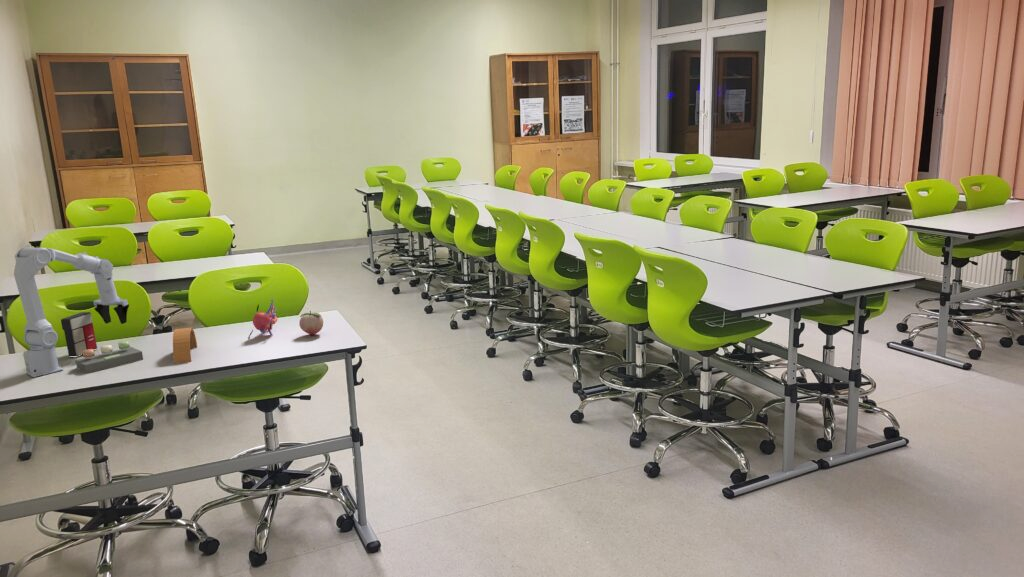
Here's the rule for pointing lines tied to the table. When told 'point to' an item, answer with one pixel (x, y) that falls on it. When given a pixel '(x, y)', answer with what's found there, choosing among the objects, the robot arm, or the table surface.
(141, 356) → the button panel
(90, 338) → the grey and red box
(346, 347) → the table surface
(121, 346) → the sage button
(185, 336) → the arch
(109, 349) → the cream button
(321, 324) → the decorative fruit
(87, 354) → the terracotta button
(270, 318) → the heart model
